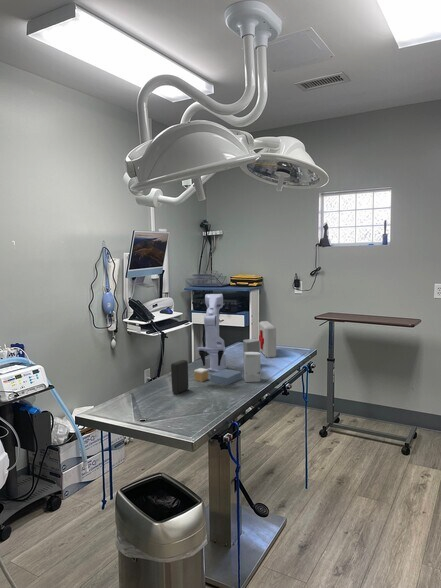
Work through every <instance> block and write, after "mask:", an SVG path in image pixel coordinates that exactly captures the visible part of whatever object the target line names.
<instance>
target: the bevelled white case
mask: <svg viewBox="0 0 441 588" xmlns="http://www.w3.org/2000/svg"><path fill="white" fill-rule="evenodd" d="M258 340H259V341H260V352H262V354H263V355H264V356H265V358H267V359H269V357H274V358H276V357H277V328H276V326H274V325H273V324H272V323H270V322H269V321H267V320H262V321H260V322H259V323H258Z"/></svg>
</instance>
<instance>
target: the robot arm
mask: <svg viewBox="0 0 441 588" xmlns="http://www.w3.org/2000/svg"><path fill="white" fill-rule="evenodd" d="M204 301H205V305H206V313H205V316H204V317H203V324H204V332H205V335H204V337H205V346H201V347H197V348H196V352H198V354H199V357H200V359H201V361H202V366H203V367H205V366H206V352H207V354H208V355H209V365H210V366H209V367H208V368H207V369H208V371H212V372H219V371H221V370H223V369H228V366H227V357H226V354H225V352H226V351H227V348H226V347H225V340H224V339H223V338H222V337H221V336H220V310H221V309H222V308H223V306H224V296H223V293H206V294H205V296H204Z"/></svg>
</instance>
